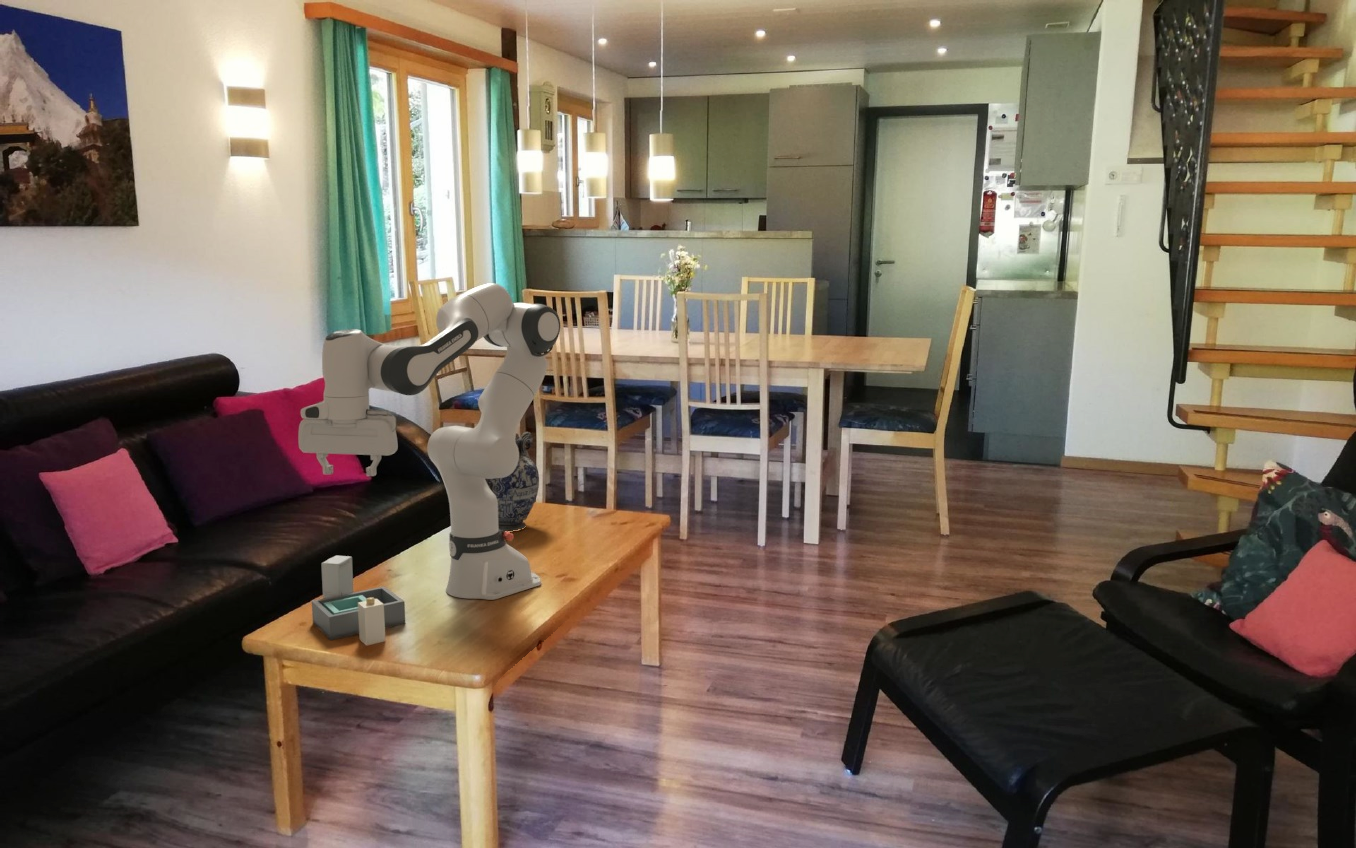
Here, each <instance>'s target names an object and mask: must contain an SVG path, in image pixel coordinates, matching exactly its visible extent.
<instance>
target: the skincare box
mask: <svg viewBox="0 0 1356 848" xmlns="http://www.w3.org/2000/svg"><path fill="white" fill-rule="evenodd" d="M353 572H354V571H353V557H352V556H349V555H347V556H346V555H337V554H336V555H334V556H332V557H330V558H328V559H327V560H325V561H323V562H321V581H322V583H321V584H322V585H321V586H322V587H321V588H322V599H324V598H329V597H334V596H338V595H343V594H348V593H353V592H354V578H353V577H354V574H353Z"/></svg>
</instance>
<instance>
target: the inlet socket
mask: <svg viewBox="0 0 1356 848" xmlns="http://www.w3.org/2000/svg"><path fill="white" fill-rule="evenodd" d="M363 601H366V598H365V597H364V596H363V595H360V596H355V597H350V598H345V599H341V600H336V601H331V602H326V603H323V605H324V607H325V608H326V609H327V610H328V611H329V612H330V613H331V614H332V615H334V614H339V613H343V612H348V611H353V610H357V609H358V602H363Z"/></svg>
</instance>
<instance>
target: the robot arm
mask: <svg viewBox="0 0 1356 848" xmlns="http://www.w3.org/2000/svg"><path fill="white" fill-rule="evenodd" d="M435 319H436V326H437V330H438V334H436V335H435V336H434V337H432V338H430V339H429V340H428V341H426V342H424V343H423V344H421V345H416V346H415V345H408V346H407V345H406V346H403V345H395V344H394V345H392V344H384V343H383V342H380V341H377V340H376V339H372V338H371V337H369V336H368V335H366V333H364V332H363V331H362V330H360V329H357V328H356V329H355V328H351V329H350V328H349V329H340V330H336V331H334V332H333V331H332V332H331V333H329V334H328V335H327V336H325V338H324V340H323V344H322V352H321V354H322V355H321V356H322V357H321V361H322V362H321V364H322V367H321V369H322V370H321V372H322V377H323V379H324V390H323V400H322V401H319V402H316V403H315V404H312V405H308V406H305V407H303V408H301V409H300V416H301V418H302V420H301V421H300V423H299V425H298V434H297V435H298V437H297V438H298V439H297V440H298V448H299V450H300V451H301V452H302V453H306V454H307V453H308V454H316V459H317V460H318V463H319V464H320V466H321V467H322V474H323V475H325V476H326V475H333V474H334V464H330V463H329V461H328V460H327V457H329V454H333V455H335V454H336V455H357V456H358V455H363V456H370V461H372V463H371V464H370V466H368V467H365V472H366V473H365V475H366V477H375V476H376V475H377V467H378V466H379V464H380V462H381V460H382V456H384V457H386V456H392V455H393V454H395V453H396V452H397V451H398V447H399V446H398V445H399V444H398V436H397V431H396V429H397V418H396V416H395V415H394V413H392V412H390V411H389V410H385V409H382V410H378V409H370V393H369V392H370V389H375V390H376V389H377V390H382V391H387V392H392V393H393V392H394V393H397V394H400V395H403V396H415V395H417V394H420V393H421V392H423V391H424V390H425V389H427V387H428V386H429V385H430V384H431V382H432V381H433V380H434V378H435V377H436V375H437V374H438V373H439V372H440V371H441V370H442V369H443V368H445V367H446V366H447V365H450V364H451V363H452V362H454V360H456V359H457V358H459V357H460V356H461V355H463V353H465V352H466V351H468V350H469V349H470V348H471V347H473V345H474V344H475V343H476V342H477V341H480V340H481V339H482V338H483V339H484V340H485V341H486V342H487V343H489V344H491V345H492V346H496V347H500V348H501V347H502V348H503V347H505V348H506V354H505V358H504V359H503V361H502V363H501V364H500V366H499V367H498V368H497V369H496V371H495V372H494V374H493V375H492V377H491V379H489V382H488V383H487V385H486V386H485V388H484V389H483V391H482V393H481V394H480V395H479V397H478V400H477V404H478V409H479V411H480V413H481V414H480V419H479V420H478V423H477V425H476V426H475V427H469V426H462V425H451V426H450V425H449V426H443V427H439V428H437V429H436V430H434V432H432V433H431V435H430V437H429V439H428V442H427V445H426V446H427V447H426V448H427V450H426V451H427V455H428V457H429V459H430V461H431V462H432V463H433V464H434V466H435V467H436V468H437V470H438V472H439V474H440V476H441V478H442V481H443V484H444V488H445V490H446V494H447V498H448V503H449V504H448V505H449V513H450V514H449V516H450V532H449V534H448V535H449V538H448V539H449V541H448V542H449V543H448V547H449V556H450V569H449V576H448V580H447V581H448V582H447V586H446V589H445V591H446V593H447V595H450V596H451V597H455V598H459V599H460V598H461V599H481V600H488V601H489V600H490V601H491V600H493V601H494V600H498V599H500V598H503V597H507V596H510V595H514V594H516V593H519V592H523V591H525V590H526V591H527V590H528V589H529V590H530V589H531V588H535V587H538V586H540V585H542V582H541V578H540V576H539V575H538V574H536V573H535V572H532V569H531V565H530V562H529V560H528V558H527V557H526V556H525V555H524V554H523V553H521V552H520V551H518V550H517V549H516V548H514V547H512V546H511V545H509V544H508V543H507V542H511V541H513V539H514V534H513V532H511V533H510V532H508V531H507V532H505V531H503V530H500V529H499V527H498V501H497V498H496V496H495V494H494V493H493V492H492V491H491V489H490V488H489V486H488V485H487V482H486V480H485V479H495V478H504V477H507V476H509V475H510V474H511V473H512V472H513V471H514V470H515V468H516V466H517V464H518V460H519V450H518V447H517V444H516V442H515V437H516V433H517V430H518V427H519V425H520V423H521V420H522V419H523V417H524V415H525V414H526V411H527V410H528V408H529V407H530V405H531V403H532V401H533V400H534V398H535V397H536V396H537V393H538V391H539V390H540V388H541V386H542V383H543V381H544V378H545V376H546V373H547V370H548V360H547V358H546V355H548V354H549V353H550V352H551V351H552V350H553V348H554V346H555V344H556V342H557V340H558V338H559V334H560V333H561V332H560V331H561V318H560V317H559V314H558V312H557V311H556V310H555V309H553V308H552V307H550V306H548V305H546V304H543V303H532V302H531V303H530V302H520V301H518V302H513V300H512V296H511V295H510V293H509V292H508V290H507V289H506V288H505V287H504V286H502V285H500V284H499V283H496V282H488V283H484V284H480V285H478V286H475V287H473V288H469V289H468V290H465V291H463V292H461V293H458V295H455V296H454V297H451V298H450V299H449V300H447V301H446V302H445V303H443V304H442V305H441V306H440V308H438V310H437V314H436V318H435ZM506 541H507V542H506Z"/></svg>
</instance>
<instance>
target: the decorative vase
mask: <svg viewBox="0 0 1356 848" xmlns="http://www.w3.org/2000/svg"><path fill="white" fill-rule="evenodd" d="M515 442H516V444H517V447H518V450H519V460H518V464H517V466H516V468H515V470H514V471H513V472H512V473H511V474H510V475H509V476H507V477H504V478H495V479H485V480H486V482H487V485H488V486H489V488H490V489H491V491H492V492H493V493H494V494H495V496H496V498H497V501H498V527H499V529H500V530H503V531H513V530H518V529H522V528H524V527H525V526H526V527H527V523H526V522H524V521H526V520H527V518H528V517H529V515H530V513H531V511H532V509H533V507H534V506H535V505H534V504H535V502H536V500H537V498H538V497H537V496H538V493H539V486H540V475H539V469H538V467H537V465H536V464H535V462H534V461H533V460H532V459H531V456H530V454H529V452H528V450H530V448H531V447H532V445H533V435H532V434H531V432H529V431H524V432H523V433H522V434H521V435H519V433H517V432H516V437H515Z"/></svg>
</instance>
